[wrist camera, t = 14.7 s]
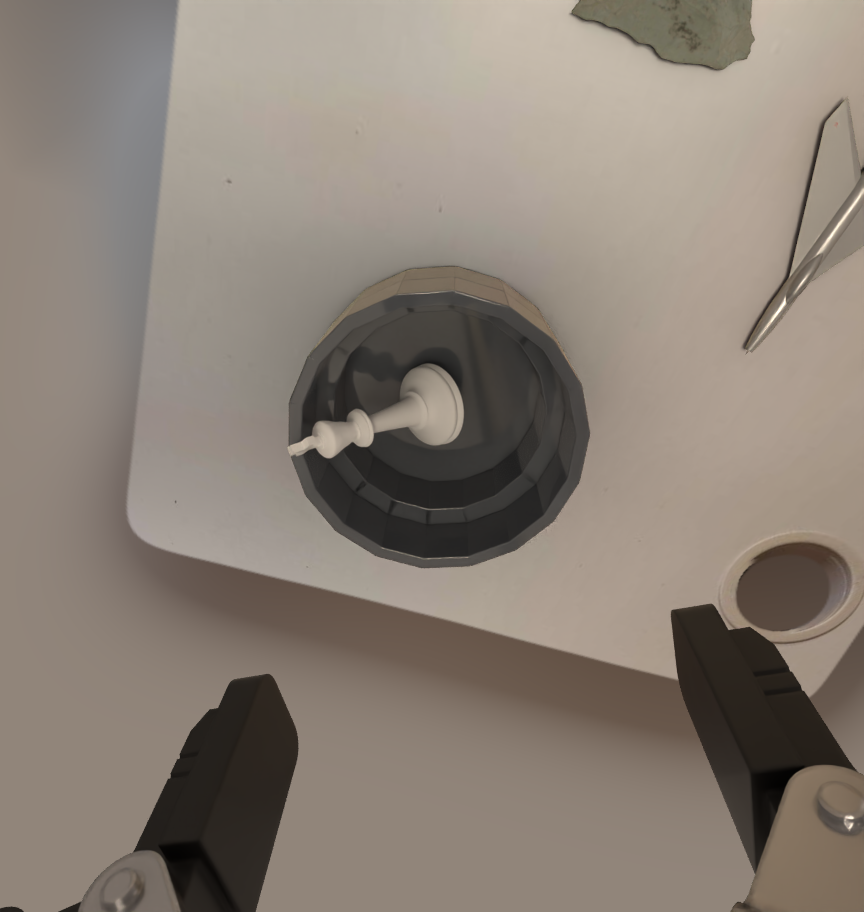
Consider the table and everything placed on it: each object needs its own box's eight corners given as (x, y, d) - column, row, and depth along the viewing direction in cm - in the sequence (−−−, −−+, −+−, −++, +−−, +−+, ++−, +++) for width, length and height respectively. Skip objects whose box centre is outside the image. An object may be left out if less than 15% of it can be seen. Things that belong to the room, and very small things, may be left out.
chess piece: (476, 426, 37) (331, 481, 30) (429, 454, 41) (291, 508, 34) (440, 348, 37) (289, 386, 31) (396, 383, 41) (254, 423, 35)
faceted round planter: (360, 521, 45) (341, 591, 38) (284, 300, 39) (243, 332, 32) (582, 475, 43) (608, 540, 36) (539, 234, 37) (559, 252, 29)
